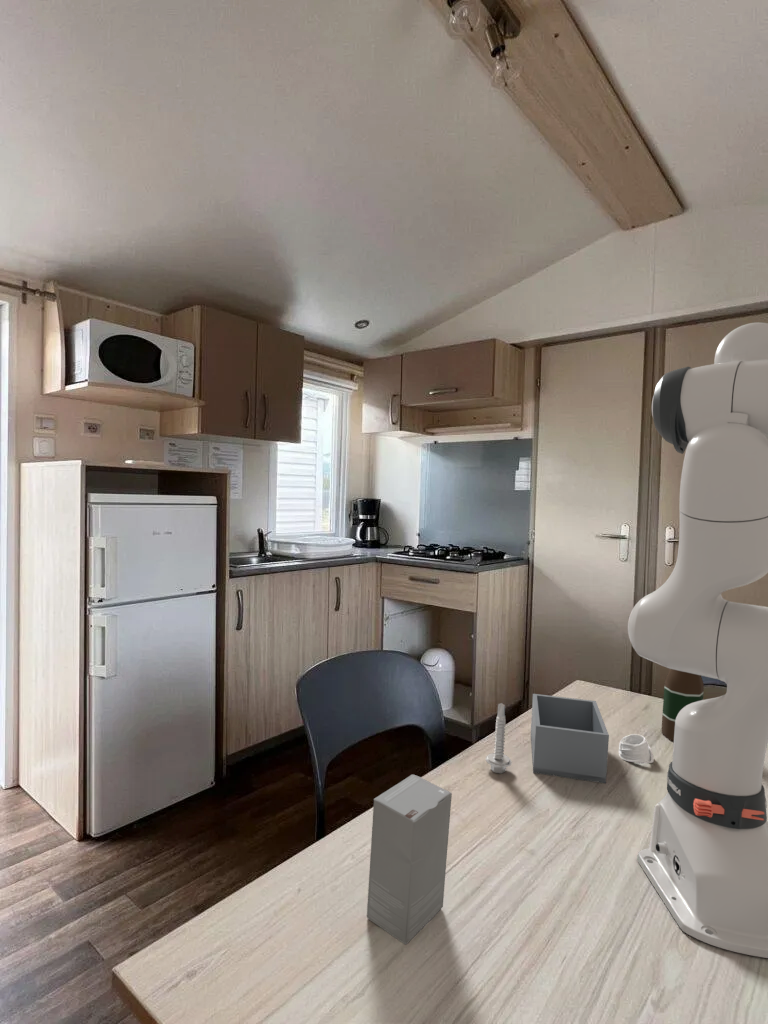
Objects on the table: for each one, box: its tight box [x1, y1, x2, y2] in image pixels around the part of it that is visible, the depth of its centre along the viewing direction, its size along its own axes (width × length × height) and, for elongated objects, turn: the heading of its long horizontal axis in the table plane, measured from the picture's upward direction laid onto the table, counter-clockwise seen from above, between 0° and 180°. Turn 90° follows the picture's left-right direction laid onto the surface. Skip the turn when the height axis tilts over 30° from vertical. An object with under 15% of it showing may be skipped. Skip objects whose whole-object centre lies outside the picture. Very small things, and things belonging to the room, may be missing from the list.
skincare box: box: [366, 773, 453, 945], centre depth 73 cm, size 8×7×16 cm
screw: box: [485, 702, 513, 774], centre depth 112 cm, size 13×5×5 cm
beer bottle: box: [661, 669, 705, 742], centre depth 130 cm, size 8×8×24 cm
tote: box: [530, 693, 610, 784], centre depth 119 cm, size 18×13×9 cm
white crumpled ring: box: [618, 733, 654, 764], centre depth 120 cm, size 8×7×5 cm
